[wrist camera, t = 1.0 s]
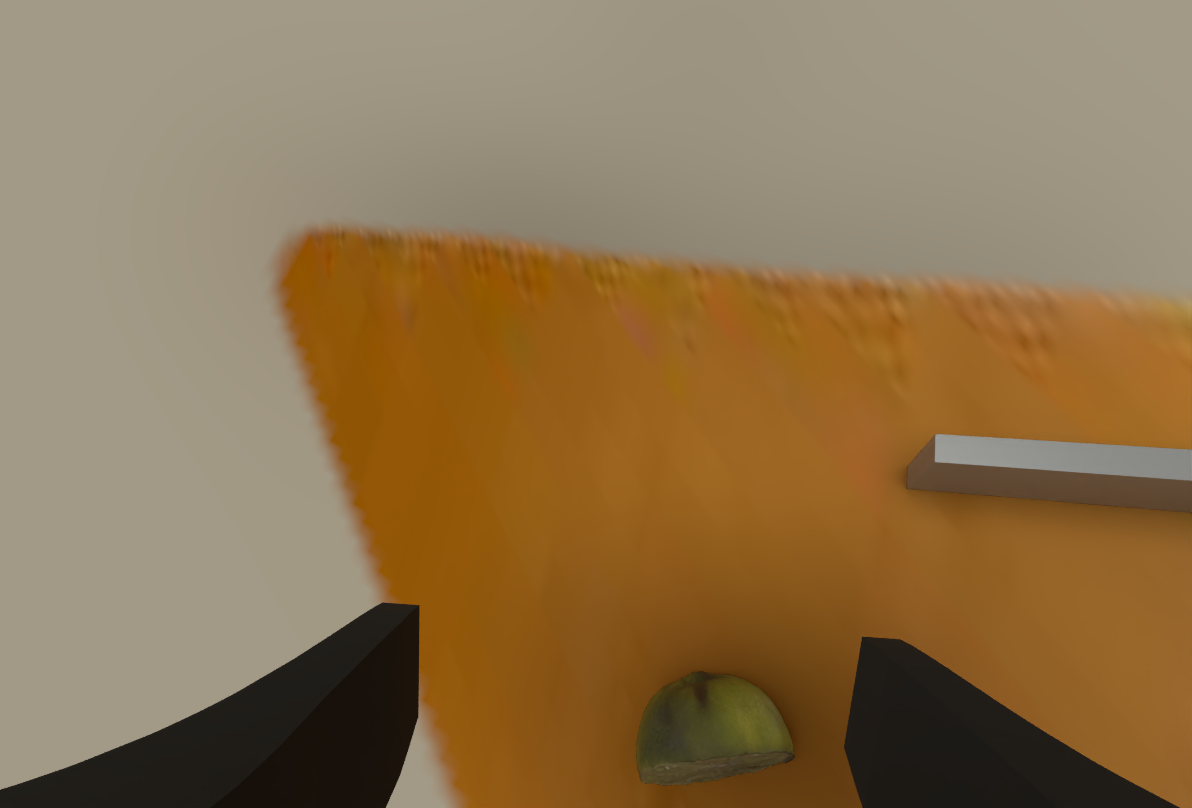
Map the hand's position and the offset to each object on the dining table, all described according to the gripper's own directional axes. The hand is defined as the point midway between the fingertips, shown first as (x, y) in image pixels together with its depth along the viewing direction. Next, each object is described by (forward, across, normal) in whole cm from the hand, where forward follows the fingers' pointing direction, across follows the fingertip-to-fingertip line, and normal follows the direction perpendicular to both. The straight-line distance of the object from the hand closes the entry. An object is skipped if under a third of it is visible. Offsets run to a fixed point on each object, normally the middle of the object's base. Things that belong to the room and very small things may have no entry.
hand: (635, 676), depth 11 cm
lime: (+12, -4, +10) cm, 16 cm away
